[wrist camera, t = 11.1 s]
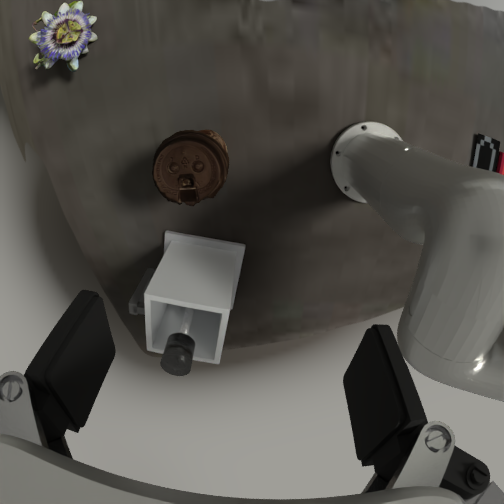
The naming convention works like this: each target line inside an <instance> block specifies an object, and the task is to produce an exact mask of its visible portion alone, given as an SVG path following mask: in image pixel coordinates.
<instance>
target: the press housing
mask: <svg viewBox="0 0 504 504" xmlns="http://www.w3.org/2000/svg"><path fill="white" fill-rule="evenodd" d="M245 246H246V244H240V243H235V242H229V241H224V240H218V239H212V238H207V237H201V236H195V235H190V234H184V233H178V232H173V231H167V230H166V232H165V242H164V256H163V258H162V260H161V262H160V263H159V265H158V267H157V269H156V271H155V269H152V268H147V270H146V272H145V273H144V275H143V277H142V279H141V281H140V283H139V284H138V286H137V288H136V290H135V292H134V294H133V295H132V297H131V299H130V301H129V313H130V314H134V315H138V314H143V315H145V325H146V342H147V350H148V351H153V352H157V353H162V354H163V353H164V349H165V346H166V343H167V340H168V337H169V336H170V335H171V334H173V333H179V332H180V328H181V325H182V321H183V318H184V314H185V311H186V307H188V308H194V309H195V310H194V314H193V318H192V322H191V326H190V330H189V334H188V335H189V336H190V337H191V338H192V339H193V340H194V341H195V350H194V355H193V359H192V360H197V361H203V362H208V363H214V364H219V363H220V357H221V353H222V348H223V343H224V338H225V333H226V328H227V323H228V318H229V313H230V309H233V304H234V299H235V294H236V289H237V285H238V280H239V275H240V270H241V266H242V261H243V256H244V251H245ZM144 301H145V303H144Z"/></svg>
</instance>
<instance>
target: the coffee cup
mask: <svg viewBox="0 0 504 504" xmlns="http://www.w3.org/2000/svg"><path fill="white" fill-rule="evenodd" d="M228 168H229V157H228V153H227V147H226V145H225V142H224V140H223V139H222V138H221V136H220V135H219V134H218V133H216V132H213V131H212V130H201V131H194V130H185V131H179V132H176V133H175V134H173V135H172V136H170V137H169V138H167V139H165V140H164V141H163V142H162V144H161V145H160V146H159V148H158V149H157V151H156V153H155V156H154V161H153V170H152V175H153V180H154V183H155V186H156V187H157V189H158V190H159V192H160V193H161V194H162V195H163V196H164V197H165V198H166V199H167V200H168V201H171V202H174V203H178V204H179V205H181V204H182V203H183V202H185V203H186V205H189V206H194V205H195V204H196V203H199V202H200V201H201V200H204V199H206V198H214V196H216V194H217V192H218V191H219V190H220V189H221V188H222V187H223V185H224V183H225V181H226V178H227V174H228Z"/></svg>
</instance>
